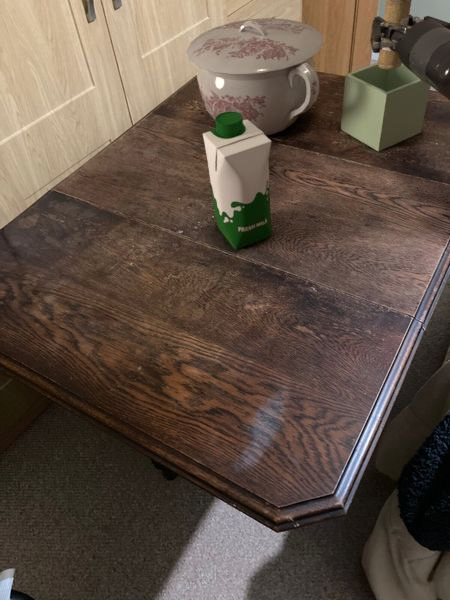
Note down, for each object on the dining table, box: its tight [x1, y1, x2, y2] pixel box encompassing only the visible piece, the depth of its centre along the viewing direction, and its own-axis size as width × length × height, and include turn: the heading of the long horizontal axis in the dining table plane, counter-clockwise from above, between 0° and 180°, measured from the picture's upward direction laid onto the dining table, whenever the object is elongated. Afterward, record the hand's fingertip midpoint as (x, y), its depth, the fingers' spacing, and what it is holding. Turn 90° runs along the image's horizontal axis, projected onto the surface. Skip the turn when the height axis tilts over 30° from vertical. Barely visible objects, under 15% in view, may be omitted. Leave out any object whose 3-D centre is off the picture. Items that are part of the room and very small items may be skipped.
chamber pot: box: [185, 17, 324, 137], centre depth 103 cm, size 28×28×21 cm
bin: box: [340, 62, 432, 152], centre depth 98 cm, size 11×11×12 cm
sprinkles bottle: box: [376, 0, 412, 70], centre depth 88 cm, size 5×5×13 cm
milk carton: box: [202, 111, 273, 251], centre depth 77 cm, size 9×9×20 cm
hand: (388, 20), depth 89 cm, fingers closed on sprinkles bottle, 4 cm apart
